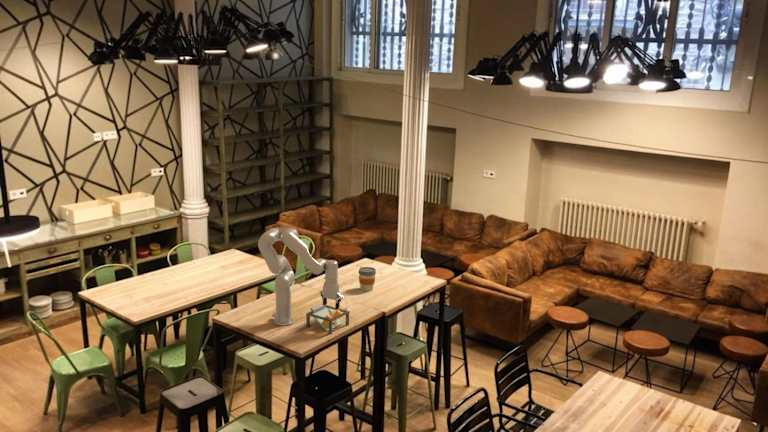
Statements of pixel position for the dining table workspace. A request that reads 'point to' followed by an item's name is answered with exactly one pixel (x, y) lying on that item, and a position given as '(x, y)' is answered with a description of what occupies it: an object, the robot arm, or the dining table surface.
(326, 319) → the frame
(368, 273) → the reusable coffee cup
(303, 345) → the dining table surface
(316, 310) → the trapdoor
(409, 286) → the dining table surface
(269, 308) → the dining table surface
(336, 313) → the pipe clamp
